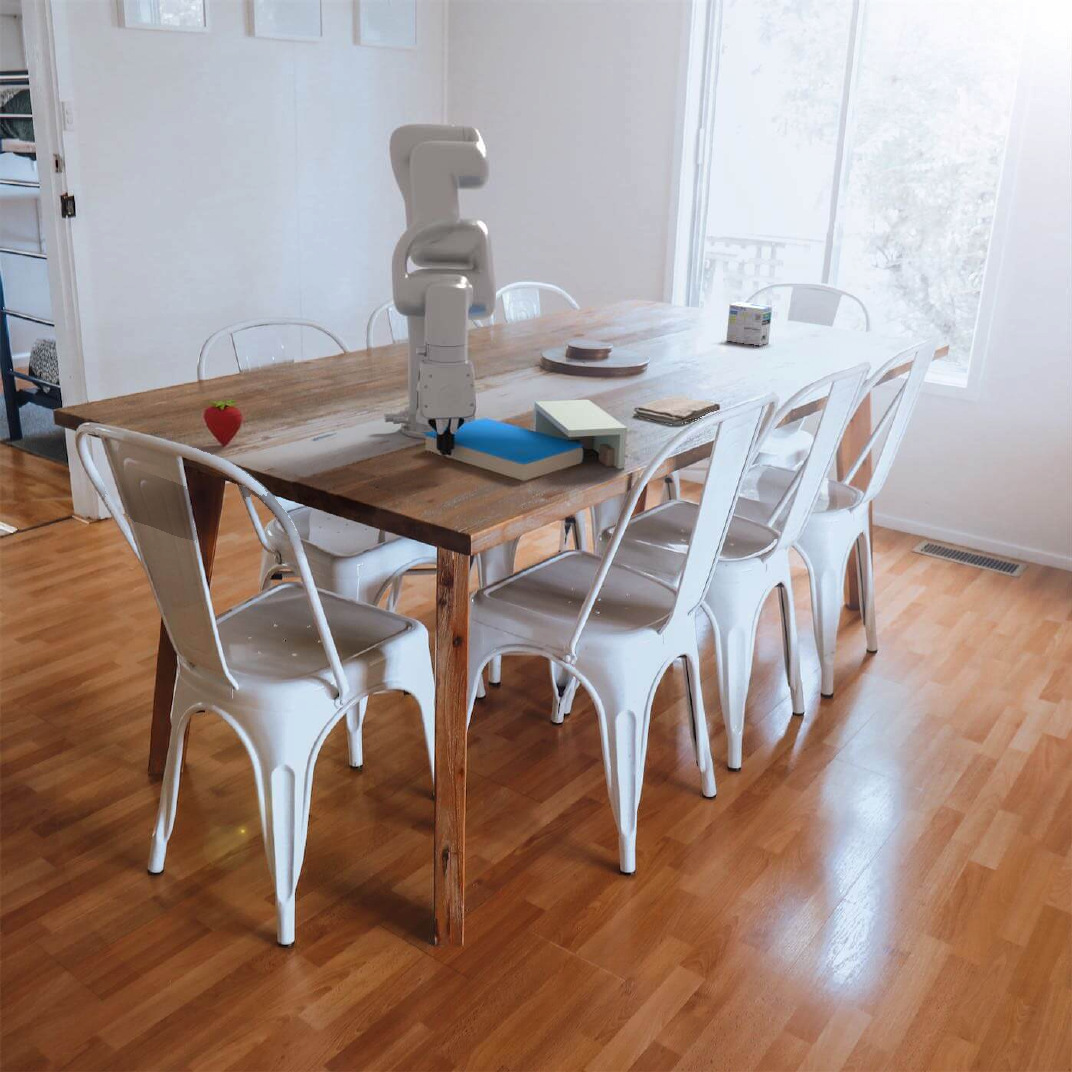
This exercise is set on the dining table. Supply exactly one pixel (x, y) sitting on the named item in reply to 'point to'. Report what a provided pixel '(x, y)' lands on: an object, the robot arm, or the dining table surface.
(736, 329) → the light bulb box
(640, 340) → the dining table surface
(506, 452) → the book
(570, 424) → the shelf
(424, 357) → the robot arm
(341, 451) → the dining table surface
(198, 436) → the dining table surface
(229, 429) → the strawberry
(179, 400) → the dining table surface
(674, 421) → the washcloth
